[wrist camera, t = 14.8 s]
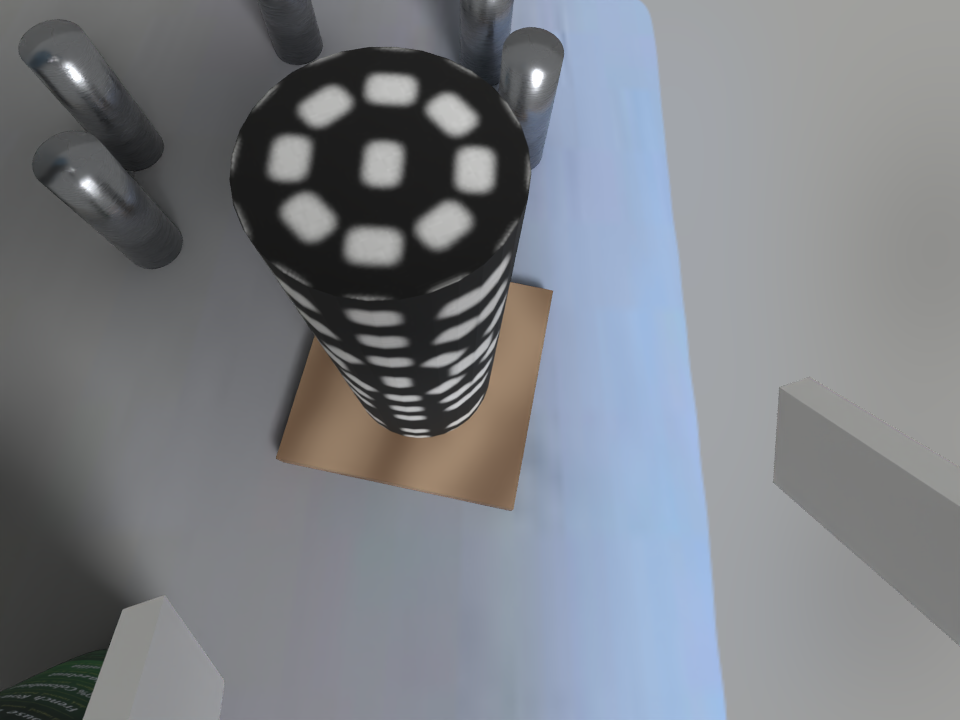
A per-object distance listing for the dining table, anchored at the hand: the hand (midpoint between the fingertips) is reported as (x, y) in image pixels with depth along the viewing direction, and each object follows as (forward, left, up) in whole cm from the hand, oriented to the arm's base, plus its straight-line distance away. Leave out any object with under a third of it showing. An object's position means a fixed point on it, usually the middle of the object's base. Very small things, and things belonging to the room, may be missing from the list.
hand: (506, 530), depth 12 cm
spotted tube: (-5, +9, -21) cm, 24 cm away
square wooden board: (-5, +9, -23) cm, 25 cm away
